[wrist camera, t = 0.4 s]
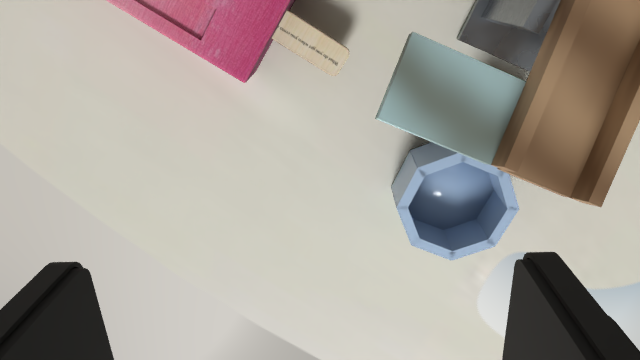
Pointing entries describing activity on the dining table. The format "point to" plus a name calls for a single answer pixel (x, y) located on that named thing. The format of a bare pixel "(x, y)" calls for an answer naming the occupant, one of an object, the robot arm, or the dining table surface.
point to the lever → (532, 100)
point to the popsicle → (238, 31)
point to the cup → (452, 202)
